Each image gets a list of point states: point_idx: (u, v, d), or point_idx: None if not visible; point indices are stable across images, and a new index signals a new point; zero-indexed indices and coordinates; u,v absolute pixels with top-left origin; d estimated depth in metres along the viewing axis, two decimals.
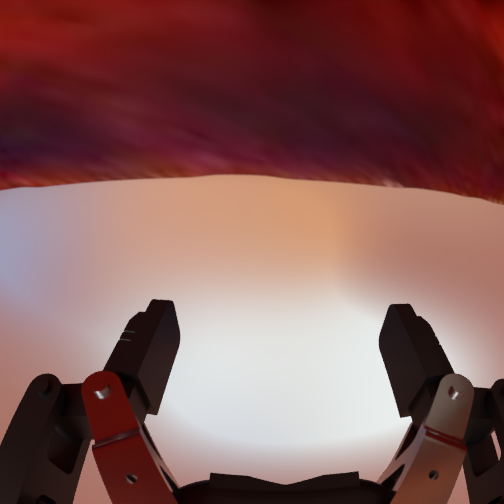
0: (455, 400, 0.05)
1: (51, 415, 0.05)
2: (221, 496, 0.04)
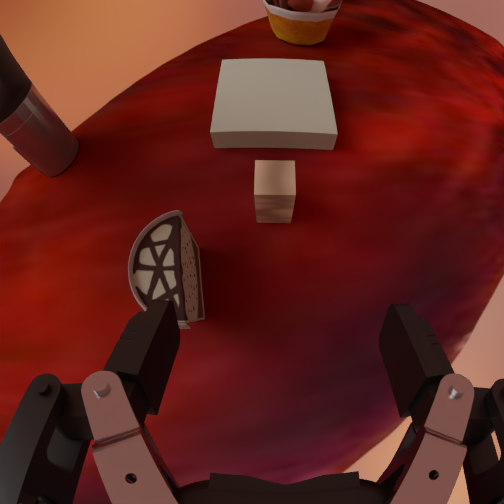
0: (455, 400, 0.06)
1: (51, 415, 0.05)
2: (221, 496, 0.04)
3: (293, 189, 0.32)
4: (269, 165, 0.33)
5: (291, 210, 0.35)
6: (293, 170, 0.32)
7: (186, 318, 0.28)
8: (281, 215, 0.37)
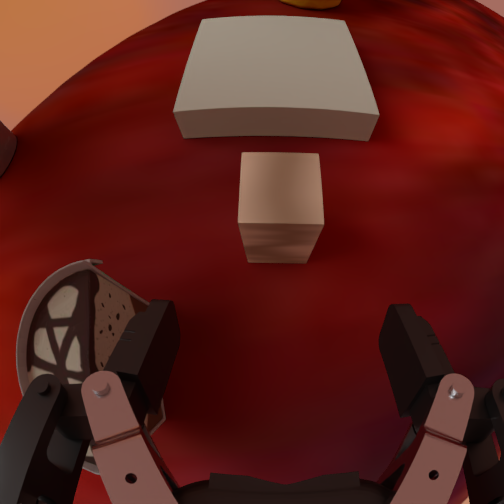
0: (455, 400, 0.05)
1: (51, 415, 0.05)
2: (221, 496, 0.04)
3: (318, 212, 0.15)
4: (269, 162, 0.16)
5: (310, 247, 0.19)
6: (317, 172, 0.16)
7: None
8: (291, 254, 0.21)
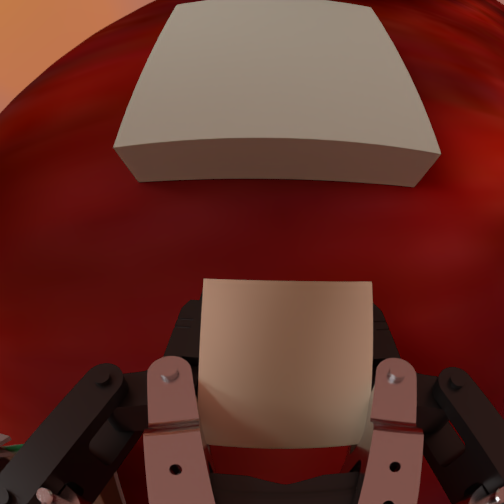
0: (392, 384, 0.06)
1: (104, 409, 0.06)
2: (221, 496, 0.04)
3: (359, 423, 0.06)
4: (265, 308, 0.07)
5: None
6: (367, 331, 0.07)
7: None
8: None
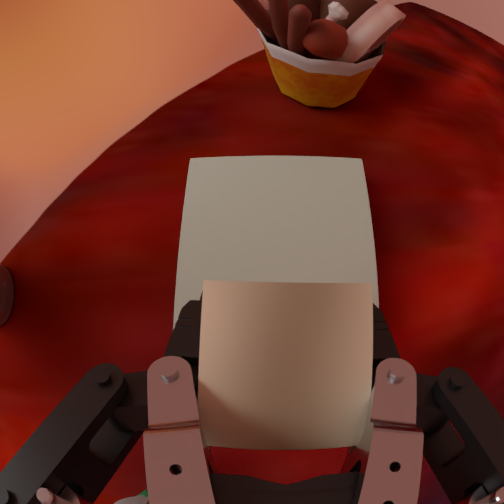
0: (392, 384, 0.06)
1: (104, 409, 0.06)
2: (221, 496, 0.04)
3: (359, 424, 0.06)
4: (264, 309, 0.07)
5: None
6: (367, 332, 0.07)
7: None
8: None
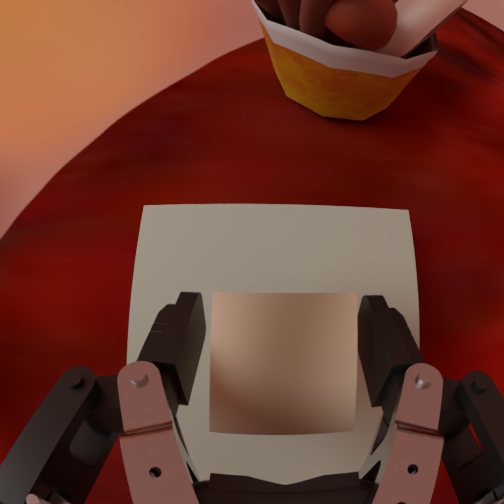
0: (421, 389, 0.06)
1: (80, 410, 0.06)
2: (221, 496, 0.04)
3: (346, 413, 0.08)
4: (265, 316, 0.09)
5: None
6: (352, 334, 0.09)
7: None
8: None
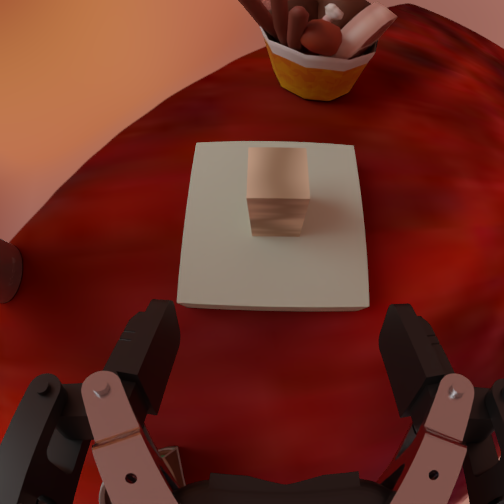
0: (455, 400, 0.05)
1: (51, 415, 0.05)
2: (221, 496, 0.04)
3: (305, 190, 0.21)
4: (269, 154, 0.22)
5: (301, 220, 0.24)
6: (305, 161, 0.22)
7: None
8: (287, 227, 0.26)
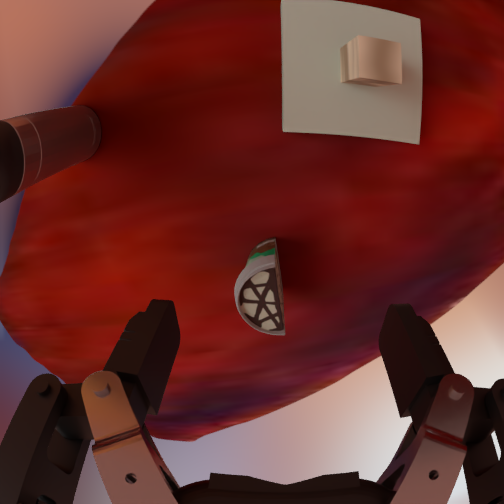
0: (455, 400, 0.05)
1: (51, 415, 0.05)
2: (221, 496, 0.04)
3: (399, 77, 0.22)
4: (374, 44, 0.21)
5: (385, 85, 0.26)
6: (399, 54, 0.21)
7: (283, 325, 0.41)
8: (371, 84, 0.27)
